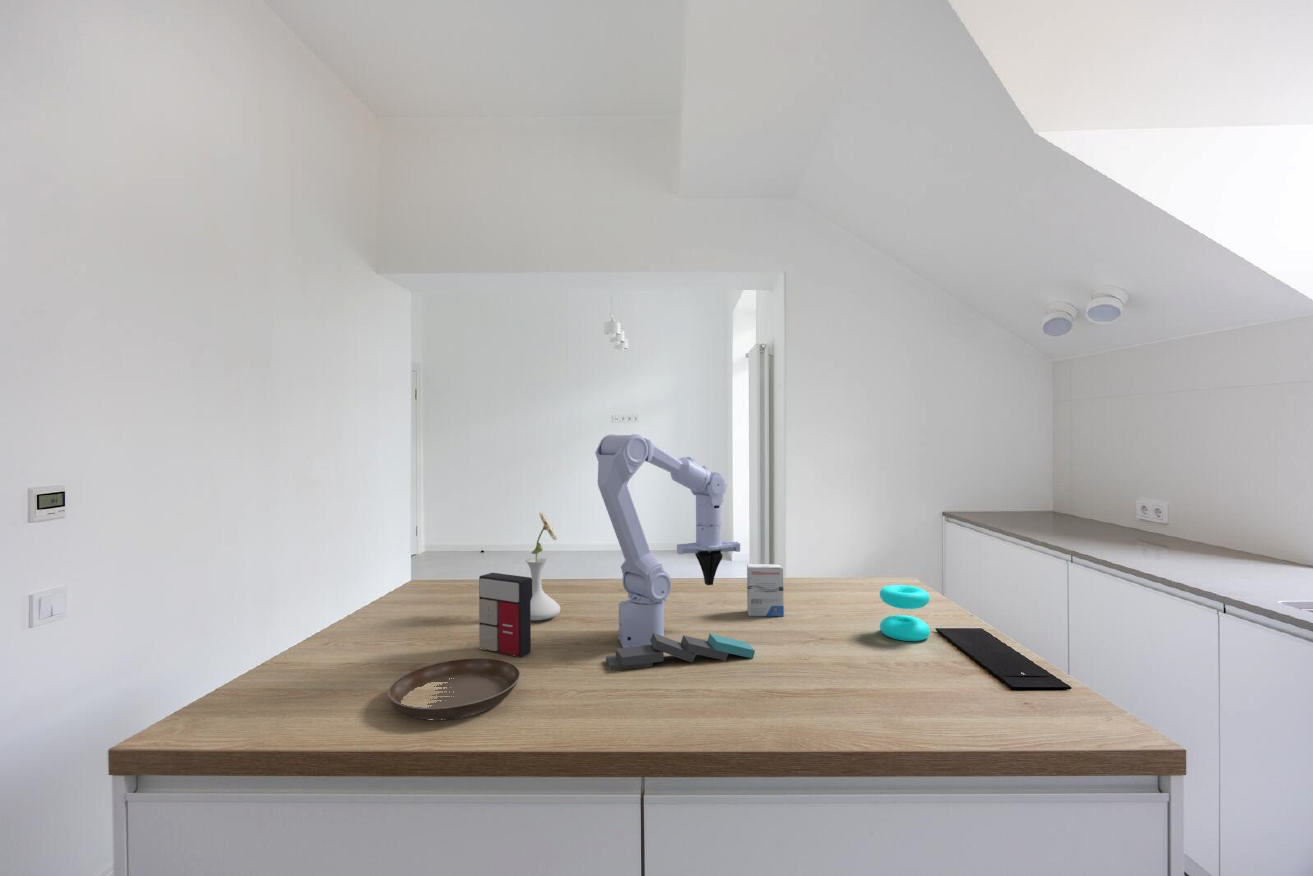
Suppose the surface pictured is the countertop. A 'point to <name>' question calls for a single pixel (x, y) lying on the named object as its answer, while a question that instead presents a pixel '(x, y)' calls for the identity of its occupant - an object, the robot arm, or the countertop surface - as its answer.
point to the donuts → (902, 624)
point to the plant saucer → (458, 687)
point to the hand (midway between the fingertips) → (708, 584)
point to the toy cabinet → (505, 613)
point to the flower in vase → (540, 601)
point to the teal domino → (731, 646)
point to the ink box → (765, 590)
